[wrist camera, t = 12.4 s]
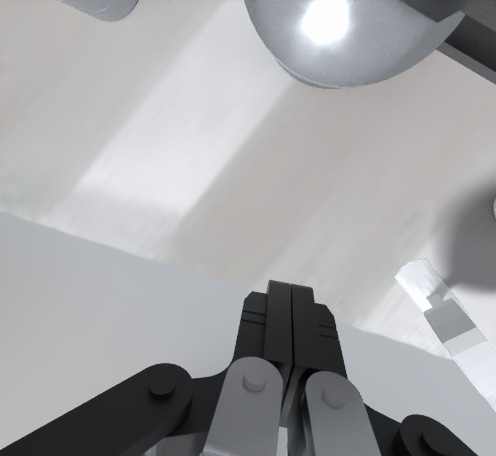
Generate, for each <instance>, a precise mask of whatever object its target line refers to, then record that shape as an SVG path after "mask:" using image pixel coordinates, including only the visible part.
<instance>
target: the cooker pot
mask: <svg viewBox="0 0 496 456" xmlns="http://www.w3.org/2000/svg"><path fill="white" fill-rule="evenodd" d="M436 50H438V51H440V52H441V53H443V54H445V55H447V56H448V57H450V58H452V59H453V60H455V61H457V62H458V63H460V64H462V65H464V66H465V67H467V68H469V69H470V70H472V71H474V72H475V73H477V74H479V75H480V76H482V77H484V78H486V79H487V80H489V81H491V82H492V83H494V84H496V32H495V31H494V30H492V29H490V28H488V27H487V26H485V25H483V24H482V23H480V22H478V21H476V20H475V19H473V18H471V17H470V16H468V15H465V16H464V18H463V19H462V20H461V22H460V23H459V24H458V26H457V27H456V28H455V29H454V31H453V32H452V33H451V34H450V35H449V36H448V37H447V38H446V39H445V41H444V42H443V43H442V44H441V45H439V46H438V47H437V48H436ZM274 58H275V57H274ZM276 61H277V60H276ZM277 62H278V63H279V64H280V66H281V67H282V68H283V69H284V70H285V71H286V72H287V73H289V74H290V75H291V76H292V77H294V78H295V79H297V80H299V81H301V82H303V83H305V84H307V85H310V86H314V87H318V88H324V89H337V88H336V87H329V86H323V85H319V84H316V83H313V82H310V81H308V80H305V79H303V78H301V77H299V76H297V75H296V74H294V73H293V72H291V71H290V70H288V69H287V68H285V67H284V66H283V65H282V64H281V63H280V62H279V61H277Z"/></svg>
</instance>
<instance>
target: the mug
mask: <svg viewBox="0 0 496 456" xmlns="http://www.w3.org/2000/svg"><path fill="white" fill-rule="evenodd" d="M494 215H495V217H496V198H495V201H494Z"/></svg>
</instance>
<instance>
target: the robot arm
mask: <svg viewBox="0 0 496 456" xmlns="http://www.w3.org/2000/svg"><path fill="white" fill-rule="evenodd" d="M58 1H61V2H63V3H65V4H67V5H69V6H71V7H74V8H75V9H78V10H80V11H82V12H84V13H86V14H88V15H91V16H93V17H95V18H98V19H100V20H103V21H117V20H119V19H122V18H124V17H125V16H126V15H128V14H129V13H130V12H131V11H132V9H133V8H134V7H135V5H136V3H137V1H138V0H58ZM279 426H280V427H285V428H287V430H288V431H287V432H288V442H287V445H286V448H285V451H284V456H478V455H477V454H476V453H474V452H473V451H472V450H471V449H470V448H469V447H468V446H467V445H466V444H464V443H463V442H462V441H461V440H460V439H459V438H458V437H457V436H455V435H454V434H453V433H452V432H451V431H450V430H449V429H448V428H446V427H445V426H444V425H442V424H441V423H439V422H438V421H436V420H434V419H432V418H430V417H427V416H424V415H409V416H407V417H406V418H405V419H404V420H403V421H402V423H399V422H397V421H395V420H393V419H391V418H389V417H387V416H385V415H383V414H381V413H379V412H377V411H375V410H373V409H372V408H370V407H369V406H367V405H366V404H365V403H364V402H363V399H362V397H361V395H360V393H359V391H358V390H357V388H356V387H355V386H354V385H353V384H352V383H351V382H350V381H349V380H348V378H347V374H346V369H345V365H344V360H343V356H342V351H341V346H340V342H339V340H338V333H337V330H336V324H335V319H334V316H333V314H332V313H331V312H330V310H329V309H328V308H327V306H326V305H323V304H318V303H315V301H314V295H313V289H312V288H311V287H306V286H300V285H295V284H291V285H290V284H289V283H284V282H279V281H273V280H269V283H268V287H267V292H266V294H264V293H259V292H254V291H252V292H251V293H250V294H249V295H248V296H247V297H246V298H245V300H244V305H243V310H242V315H241V321H240V326H239V330H238V336H237V340H236V346H235V351H234V356H233V359H232V361H231V363H230V365H229V366H228V367H227V368H226V369H225V370H224V371H222V372H221V373H219V374H217V375H214V376H211V377H204V378H193V379H192V378H191V376H190V375H189V373H188V372H187V371H186V370H185V369H183V368H182V367H180V366H177V365H175V364H169V363H161V364H156V365H153V366H150V367H148V368H146V369H144V370H142V371H141V372H139V373H137V374H135V375H133V376H132V377H130V378H128V379H126V380H125V381H123V382H121V383H119V384H117V385H116V386H114V387H112V388H110V389H108V390H107V391H105V392H103V393H101V394H99V395H98V396H96V397H94V398H92V399H91V400H89V401H87V402H85V403H84V404H82V405H80V406H78V407H76V408H75V409H73V410H71V411H69V412H67V413H66V414H64V415H62V416H60V417H58V418H57V419H55V420H53V421H51V422H49V423H48V424H46V425H44V426H42V427H41V428H39V429H37V430H35V431H33V432H32V433H30V434H28V435H26V436H25V437H23V438H21V439H19V440H17V441H15V442H14V443H12V444H10V445H8V446H7V447H5V448H3V449H1V450H0V456H276V453H277V442H278V431H279Z"/></svg>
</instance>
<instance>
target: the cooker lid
mask: <svg viewBox="0 0 496 456" xmlns="http://www.w3.org/2000/svg"><path fill="white" fill-rule="evenodd" d="M244 1H245V4H246V7H247V10H248V13H249V16H250V19H251V21H252V23H253V25H254V27H255V29H256V31H257V33H258V35H259V37H260V39H261V40H262V42H263V43H264V45H265V46H266V48H267V49H268V50H269V52H270V53H271V54H272V55H273V56H274V57H275V59H276V60H277V61H279V62H280V63H281V64H282V65H283V66H284V67H285V68H287V69H288V70H290V71H291V72H293V73H294V74H296V75H297V76H299V77H301V78H303V79H305V80H308V81H310V82H313V83H316V84H319V85H323V86H329V87H336V88H352V87H359V86H366V85H369V84H373V83H377V82H380V81H383V80H386V79H388V78H391V77H393V76H396V75H398V74H400V73H402V72H404V71H405V70H407V69H409V68H411V67H413V66H414V65H416V64H417V63H418V62H420V61H421V60H423V59H424V58H425V57H427V56H428V55H429V54H431V53H432V52H433V51H434V50H435V49H436V48H437V47H438V46H439V45H441V44H442V43H443V42H444V41H445V39H446V38H447V37H448V36H449V35H450V34H451V33H452V32H453V31H454V29H455V28H456V27H457V26H458V24H459V23H460V22H461V20H462V19H463V18H464V16H465V15H468V16H470V17H471V18H473V19H475V20H476V21H478V22H480V23H482V24H483V25H485V26H487V27H488V28H490V29H492V30H494V31H495V32H496V0H244Z"/></svg>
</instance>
